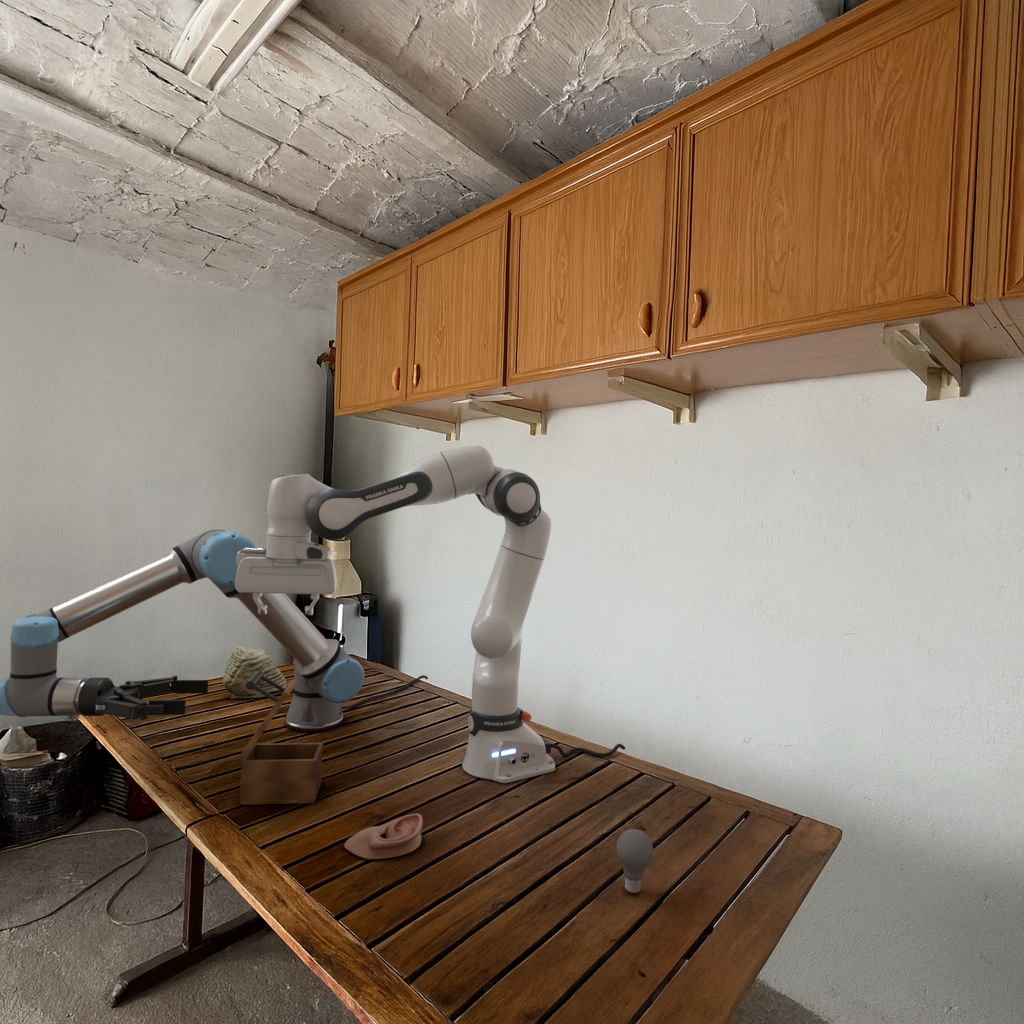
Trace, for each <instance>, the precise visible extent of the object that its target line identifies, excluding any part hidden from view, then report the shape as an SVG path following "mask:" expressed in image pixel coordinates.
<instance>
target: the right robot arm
mask: <svg viewBox="0 0 1024 1024" xmlns="http://www.w3.org/2000/svg"><path fill="white" fill-rule="evenodd" d="M466 495H475V497H477V499H478V501H479V502H480V504H481V505H482V506H483V507H484V508H485V509H486V510H488V511H490V512H491V513H493V514H494V515H497V516H499V517H503V519H504V523H505V529H504V534H503V536H502V539H501V542H500V545H499V549H498V551H497V555H496V558H495V561H494V564H493V566H492V567H493V568H492V570H491V573H490V576H489V578H488V581H487V584H486V586H485V590H484V592H483V595H482V597H481V600H480V603H479V605H478V608H477V611H476V613H475V616H474V619H473V623H472V625H471V628H470V640H471V644H472V646H473V648H474V650H475V658H474V659H475V660H474V666H473V671H472V685H471V704H470V707H469V715H468V720H467V722H468V723H467V725H468V732H469V733H468V740H467V746H466V750H465V754H464V757H463V760H462V762H461V768H462V770H463V771H464V772H466V773H467V774H469V775H470V776H473V777H476V778H479V779H486V780H492V781H494V782H497V783H501V784H508V783H513V782H516V781H520V780H525V779H528V778H532V777H536V776H541V775H544V774H549V773H553V772H555V771H556V763H555V760H554V758H553V757H552V756H550V755H551V753H552V748H553V749H556V750H558V752H559V754H560V755H561V757H562V756H563V758H564V757H565V758H567V757H570V756H571V755H572V754H573V753H575V752H583V753H586V754H588V755H592V756H596V757H600V758H607V757H610V756H613V755H614V754H615V753H616V752H617V750H618V749H619V748H620V749H621V750H626V747H625V745H623V743H617V744H615V745H614V747H613V748H612V749H611V750H609V751H608V752H598V751H594V750H592V749H588V748H586V747H585V748H584V747H579V746H578V747H573V748H571V749H569V750H568V751H567V752H564V750H563V748H562V747H561V746H560V745H557V744H555V743H552V742H550V741H549V740H547V739H546V738H545V737H543V736H540V735H539V734H538V733H537V732H536V731H534V730H533V729H532V728H531V727H530V726H528V725H527V724H526V723H530V721H531V720H532V719H533V717H532V715H531V713H529V712H528V711H524V710H523V709H522V708H521V707H518V699H519V678H520V667H521V666H520V665H521V653H522V643H523V642H522V639H523V627H524V622H525V619H526V616H527V614H528V610H529V608H530V604H531V601H532V598H533V595H534V593H535V589H536V586H537V584H538V581H539V577H540V575H541V571H542V568H543V565H544V562H545V559H546V556H547V552H548V548H549V544H550V538H551V534H552V523H553V522H552V518H551V517H550V515H549V514H548V513H547V512H546V511H544V510H543V509H542V505H541V494H540V489H539V486H538V484H537V482H536V481H535V480H534V479H533V478H532V477H531V476H530V475H528V474H526V473H523V472H520V471H518V470H515V469H512V468H502V467H497V466H496V464H495V461H494V459H493V456H492V455H491V454H490V452H489V451H488V450H487V449H486V448H485V447H483V446H481V445H468V446H460V447H455V448H450V449H445V450H443V451H439V452H437V453H436V452H435V453H433V454H430V455H427V456H425V457H423V458H421V459H419V460H418V461H416V462H414V463H412V464H410V465H409V467H407V468H406V469H405V470H404V471H403V472H402V473H400V474H399V475H396V476H395V477H393V478H390V479H388V480H385V481H381V482H378V483H376V484H371V485H369V486H366V487H362V488H359V489H352V490H345V489H339V488H338V489H336V488H333V487H330V486H329V485H326V484H325V483H322V482H321V481H318V480H317V479H316V478H314V477H313V476H311V475H310V474H309V473H307V472H303V471H302V472H301V471H300V472H291V473H283V474H280V475H278V476H276V477H275V478H274V479H273V480H272V481H271V482H270V486H269V490H268V496H267V497H268V498H267V510H266V511H267V512H266V513H267V514H266V515H267V518H268V527H267V530H266V535H265V536H266V540H265V547H256V548H255V549H252V548H244V550H241V551H239V552H238V553H237V555H236V566H237V567H238V569H237V574H236V580H235V588H236V590H237V591H238V592H241V593H253V599H254V601H255V603H256V604H257V606H258V614H267V605H263V603H262V601H261V599H260V597H262V593H285V594H286V595H287V594H289V595H292V594H293V595H294V594H295V595H310V600H312V602H311V603H310V605H305V606H304V611H305V612H304V615H305V616H314V615H313V614H314V607H315V605H316V604H317V602H318V600H319V599H320V595H332V594H334V593H335V592H336V590H337V587H338V586H337V585H338V581H337V580H338V579H337V570H336V565H335V562H334V561H333V560H332V559H331V557H332V556H333V550H332V548H331V547H329V546H325V545H323V544H320V543H317V542H314V541H312V532H313V533H314V534H315V535H316V536H318V537H319V538H322V539H324V540H330V541H335V540H340V539H343V538H345V537H346V536H348V535H350V534H351V533H352V532H353V531H354V530H355V529H356V528H357V527H358V526H360V525H361V524H362V523H363V522H366V521H367V520H370V519H373V518H375V517H378V516H381V515H384V514H387V513H391V512H392V511H395V510H399V509H402V508H406V507H413V506H432V505H436V504H437V505H438V504H442V503H443V504H444V503H447V502H450V501H453V500H457V499H459V498H462V497H464V496H466ZM241 552H244V553H241ZM549 754H550V755H549Z"/></svg>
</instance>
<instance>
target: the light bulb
mask: <svg viewBox="0 0 1024 1024" xmlns="http://www.w3.org/2000/svg"><path fill="white" fill-rule="evenodd" d="M615 849H616V854H617V857H618V859H619V861H620V863H621V865H622V867H623V873H624V874H623V875H624V876H625V878H624V888H625V890H627V891H628V892H630V893H634V894H635V893H639V892H640V891H641V889H642V887H641V886H642V879H643V877H644V875H645V871H646V868H647V867H648V866H649V864H650V863H651V861H652V859H653V855H654V847H653V843H652V841H651V838H649V836H648V835H647V834H646V833H645V832H643V831H642V830H641V829H636V828H629V829H627V830H625V831H623V832H622V833H621V834H620V835H619V837H618V839H617V841H616V847H615Z"/></svg>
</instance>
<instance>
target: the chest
mask: <svg viewBox="0 0 1024 1024" xmlns="http://www.w3.org/2000/svg"><path fill="white" fill-rule="evenodd" d="M323 749H324V743H323V742H285V743H283V742H282V743H280V742H279V743H278V742H277V743H275V742H272V743H270V742H269V743H255V745H254V746H253V748H252V749H251V750H250V752H249V753H248V755H247V756H246V758H245V759H242V760H241V762H240V763H241V765H240V766H241V768H240V791H239V796H240V797H239V805H241V806H244V805H245V806H246V805H247V806H248V805H283V804H284V805H289V804H291V805H292V804H315V802H316V799H317V796H318V794H319V790H320V787H321V785H322V776H323V775H322V773H323Z"/></svg>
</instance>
